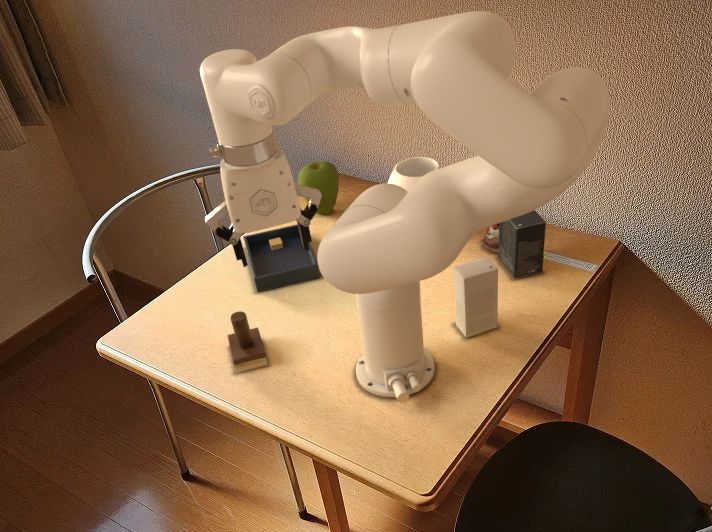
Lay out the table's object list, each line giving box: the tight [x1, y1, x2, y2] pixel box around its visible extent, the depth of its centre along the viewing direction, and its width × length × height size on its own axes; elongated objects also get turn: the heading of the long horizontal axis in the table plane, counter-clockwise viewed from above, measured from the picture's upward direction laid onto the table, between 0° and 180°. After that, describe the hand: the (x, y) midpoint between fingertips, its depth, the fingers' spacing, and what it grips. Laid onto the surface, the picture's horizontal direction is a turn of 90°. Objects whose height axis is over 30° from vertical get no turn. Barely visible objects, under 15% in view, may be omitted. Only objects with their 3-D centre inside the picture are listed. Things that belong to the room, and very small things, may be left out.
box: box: [498, 210, 547, 279], centre depth 133 cm, size 8×6×11 cm
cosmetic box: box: [453, 256, 499, 339], centre depth 120 cm, size 6×4×12 cm
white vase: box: [387, 156, 443, 192], centre depth 145 cm, size 13×13×14 cm
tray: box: [242, 223, 321, 293], centre depth 144 cm, size 16×12×3 cm
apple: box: [297, 160, 340, 216], centre depth 154 cm, size 9×8×12 cm
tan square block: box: [269, 237, 283, 251], centre depth 148 cm, size 2×2×1 cm
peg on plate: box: [226, 310, 268, 373], centre depth 122 cm, size 7×5×9 cm
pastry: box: [482, 223, 499, 254], centre depth 140 cm, size 8×8×5 cm
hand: (275, 254), depth 112 cm, fingers open, 9 cm apart
